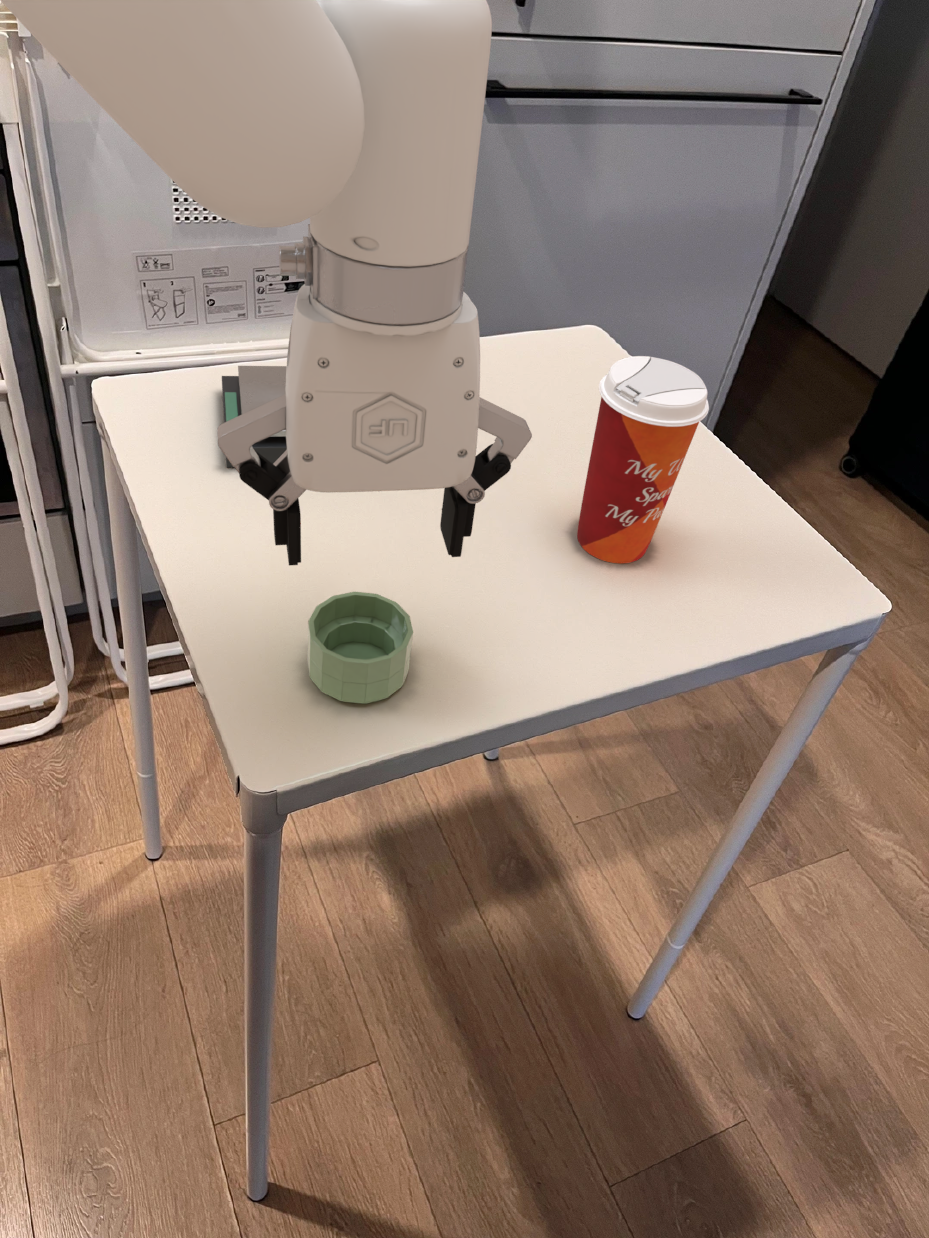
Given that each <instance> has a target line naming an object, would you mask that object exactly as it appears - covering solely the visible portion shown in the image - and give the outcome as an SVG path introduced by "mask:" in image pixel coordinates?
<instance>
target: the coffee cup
mask: <svg viewBox="0 0 929 1238" xmlns="http://www.w3.org/2000/svg"><path fill="white" fill-rule="evenodd" d="M598 391H599V395H600V403H599V407H598V412H597V418H596V422H595V423H596V424H595V428H594V429H595V430H594V436H593V441H592V446H591V450H590V457H589V460H588V461H589V462H588V467H587V473H586V478H585V483H584V489H583V493H582V494H583V495H582V500H581V506H580V512H579V518H578V524H577V531H576V536H577V541H578V544H579V545H580V547H581V548H582V549H583V550H584V551H585V552H586V553H588V555H591V556H592V557H594V558H596V559H599V560H600V561H603V562H607V563H612V564H629V563H634V562H637V561H639V560H640V559H642V558H643V557H644V555H645V554H646V552H647V550H648V548H649V546H650V544H651V541H652V540H653V537H654V535H655V533H656V531H657V528H658V526H659V522H660V520H661V518H662V516H663V513H664V510H665V508H666V506H667V503H668V501H669V498H670V496H671V493H672V491H673V488H674V486H675V484H676V481H677V479H678V476H679V474H680V471H681V469H682V466H683V464H684V461H685V459H686V455H687V454H688V451H689V448H690V447H691V444H692V441H693V440H694V436H695V434H696V431H697V429H698V426H699V424H700V422H701V421H703V420H704V419H705V418H706V417H707V415H708V413H709V410H710V404H709V401H708V389H707V386H706V384H705V382H704V380H703V379H702V378H701V377H700V376H699V375H698V374H697V373H696V372H695V371H693V370H691V369H689V368H688V367H685V366H684V365H682V364H679V363H677V362H674V361H671V360H668V359H664V358H659V357H654V356H648V355H645V356H644V355H636V356H635V355H634V356H627V357H624V358H621V359H619V360H617V361H615V362H614V363H613V364H612V365H611V366H610V368H609V369H608V372H607V374H605V375H604V376H603V377H602V378H601V379H600V381H599V384H598Z"/></svg>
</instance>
